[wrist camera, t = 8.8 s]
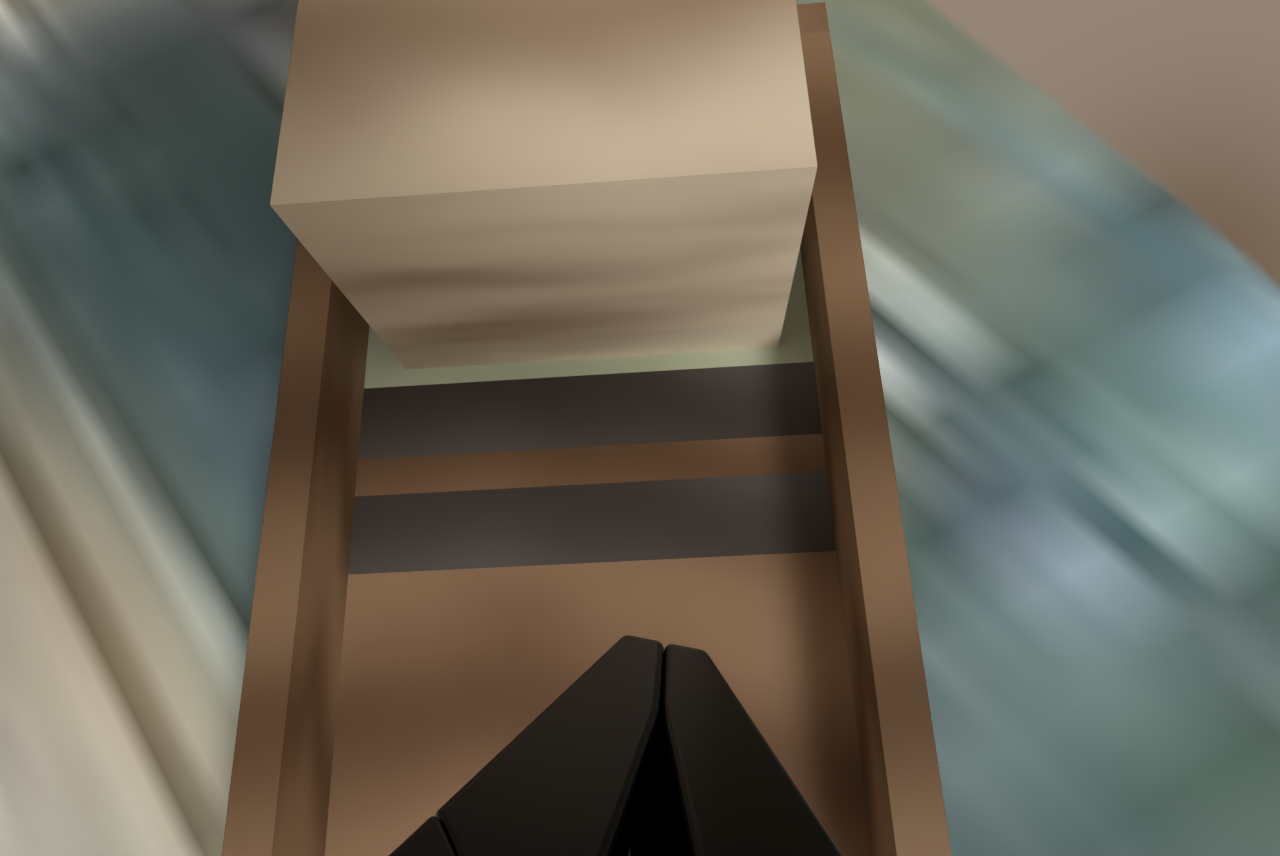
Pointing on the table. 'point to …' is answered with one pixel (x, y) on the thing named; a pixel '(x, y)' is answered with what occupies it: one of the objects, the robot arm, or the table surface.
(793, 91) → the birch block
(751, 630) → the channel
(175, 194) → the table surface
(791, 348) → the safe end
